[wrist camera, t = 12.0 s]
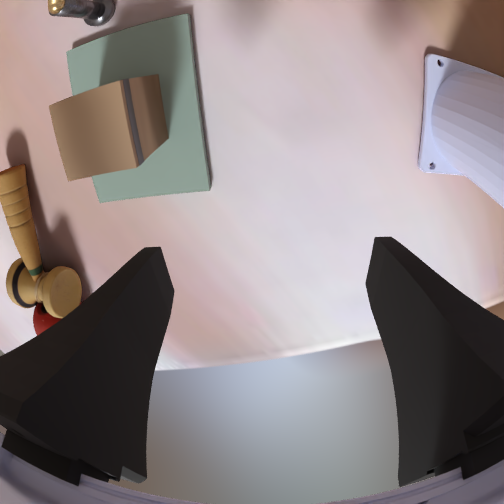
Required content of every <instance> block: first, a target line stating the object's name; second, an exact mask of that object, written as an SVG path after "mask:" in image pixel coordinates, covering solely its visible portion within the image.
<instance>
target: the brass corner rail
mask: <svg viewBox="0 0 504 504" xmlns="http://www.w3.org/2000/svg"><path fill="white" fill-rule="evenodd" d="M48 10H49V13H50V15H52V16H62V17H74V18H83V19H84V21H85V22H86V23H87V24H88V25H91V26H101V25H103V24H105V23H107V22H108V21H109V20H110V19H111V18H112V16H113V14H114V11H115V4H114V2H113V1H112V0H48Z"/></svg>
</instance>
